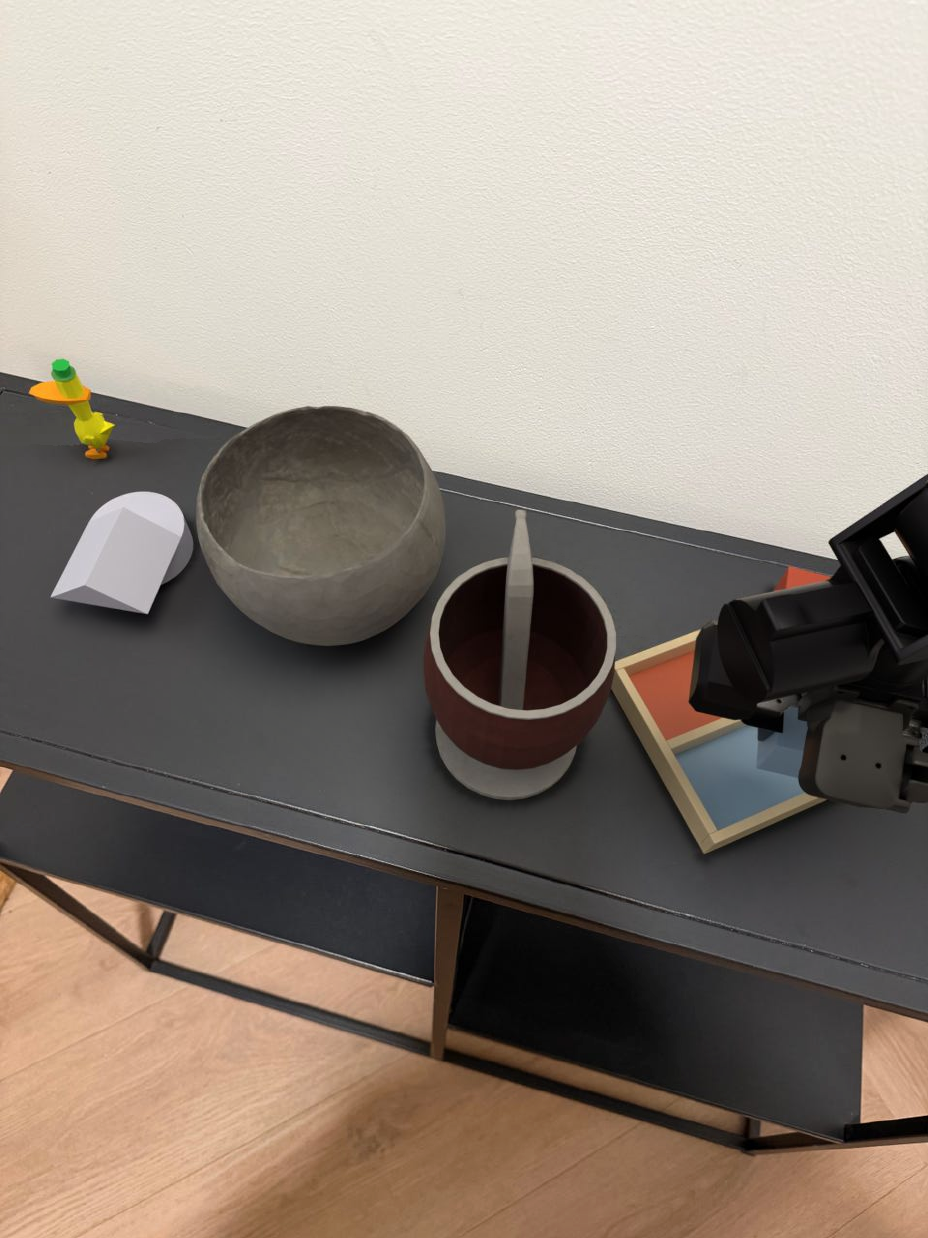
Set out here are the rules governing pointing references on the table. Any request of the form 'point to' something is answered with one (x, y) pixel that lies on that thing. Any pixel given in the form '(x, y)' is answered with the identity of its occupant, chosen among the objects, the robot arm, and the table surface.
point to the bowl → (322, 524)
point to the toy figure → (76, 407)
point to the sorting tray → (701, 750)
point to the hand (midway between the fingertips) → (792, 742)
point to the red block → (798, 578)
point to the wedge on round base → (127, 553)
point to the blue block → (784, 747)
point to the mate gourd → (517, 671)
